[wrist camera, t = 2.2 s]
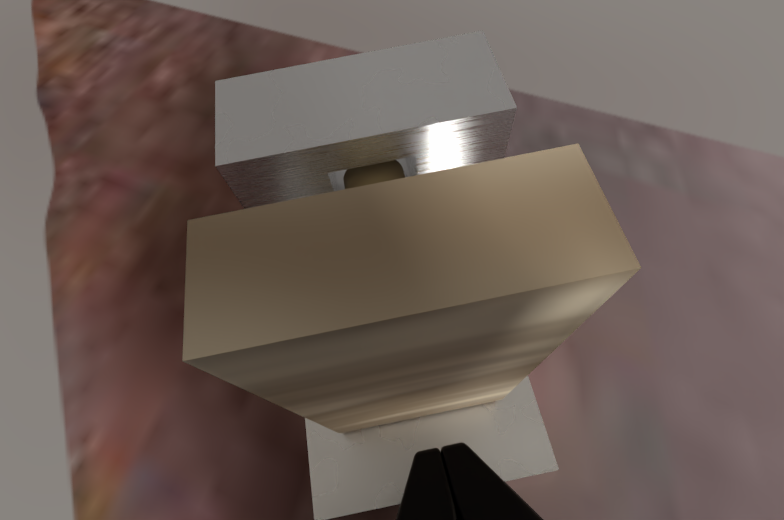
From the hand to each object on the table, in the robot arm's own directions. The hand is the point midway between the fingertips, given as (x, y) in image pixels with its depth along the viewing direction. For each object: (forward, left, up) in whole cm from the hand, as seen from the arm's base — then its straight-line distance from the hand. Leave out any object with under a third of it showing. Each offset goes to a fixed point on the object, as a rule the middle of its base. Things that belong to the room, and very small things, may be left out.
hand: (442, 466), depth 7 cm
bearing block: (+6, 0, -12) cm, 14 cm away
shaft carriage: (+6, 0, -11) cm, 13 cm away
